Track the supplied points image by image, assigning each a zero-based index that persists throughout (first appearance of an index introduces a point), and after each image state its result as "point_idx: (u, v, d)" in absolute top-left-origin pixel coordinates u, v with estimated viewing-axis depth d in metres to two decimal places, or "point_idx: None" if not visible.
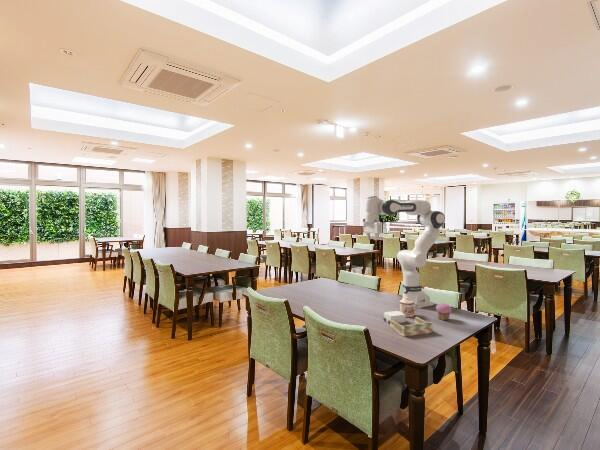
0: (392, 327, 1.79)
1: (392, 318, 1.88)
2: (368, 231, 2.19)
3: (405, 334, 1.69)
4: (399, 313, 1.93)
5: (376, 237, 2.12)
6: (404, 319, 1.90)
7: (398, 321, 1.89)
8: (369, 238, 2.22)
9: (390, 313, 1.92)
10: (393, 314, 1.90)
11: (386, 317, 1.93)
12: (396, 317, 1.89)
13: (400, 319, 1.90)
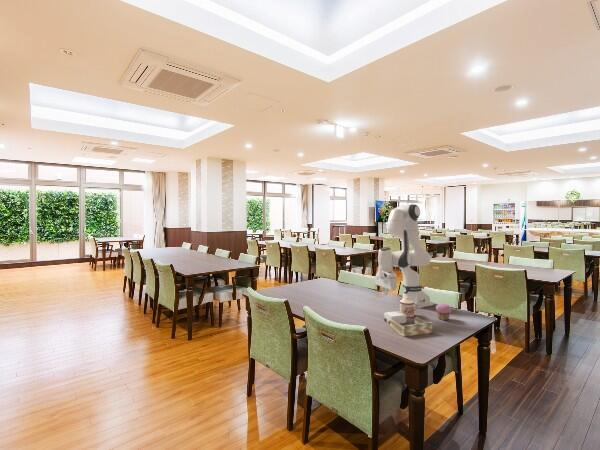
0: (392, 327, 1.79)
1: (393, 318, 1.88)
2: None
3: (405, 334, 1.69)
4: (400, 313, 1.92)
5: None
6: (405, 319, 1.90)
7: (399, 321, 1.89)
8: None
9: (391, 314, 1.92)
10: (393, 315, 1.90)
11: (387, 317, 1.92)
12: (397, 317, 1.88)
13: (401, 319, 1.89)
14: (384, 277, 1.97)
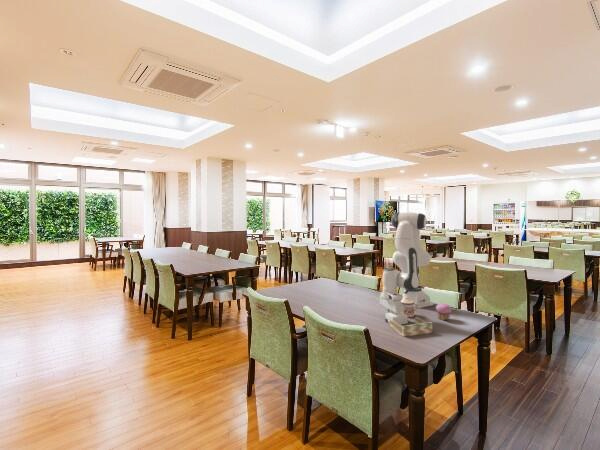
0: (392, 327, 1.79)
1: (394, 319, 1.86)
2: None
3: (405, 334, 1.69)
4: (401, 314, 1.91)
5: None
6: (406, 320, 1.88)
7: (400, 322, 1.87)
8: None
9: (392, 314, 1.91)
10: (395, 315, 1.88)
11: (388, 318, 1.91)
12: (398, 318, 1.87)
13: (402, 319, 1.88)
14: (389, 299, 1.93)
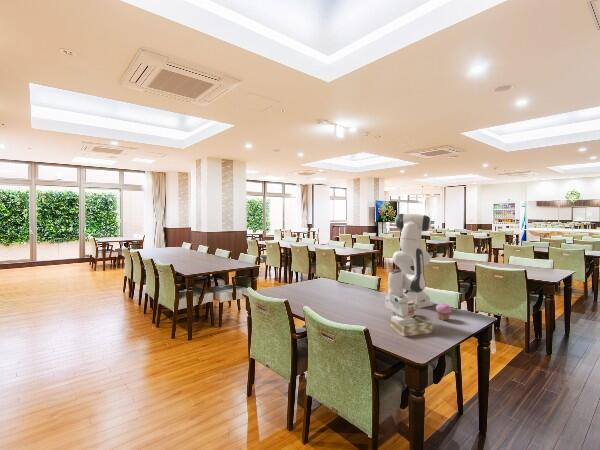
0: (392, 327, 1.79)
1: (400, 322, 1.80)
2: None
3: (405, 334, 1.69)
4: (407, 317, 1.85)
5: None
6: (413, 323, 1.82)
7: None
8: None
9: (398, 317, 1.84)
10: (401, 319, 1.82)
11: None
12: (404, 321, 1.81)
13: (409, 323, 1.82)
14: (395, 302, 1.86)
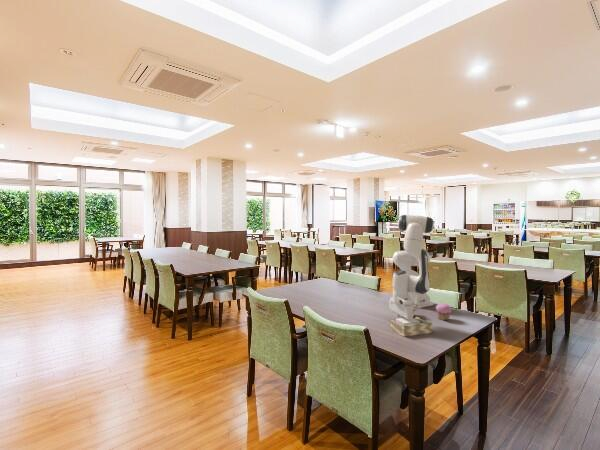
0: (392, 327, 1.79)
1: None
2: None
3: (405, 334, 1.69)
4: (412, 320, 1.80)
5: None
6: None
7: None
8: None
9: (403, 320, 1.80)
10: (406, 321, 1.77)
11: None
12: (409, 324, 1.76)
13: None
14: (399, 304, 1.82)
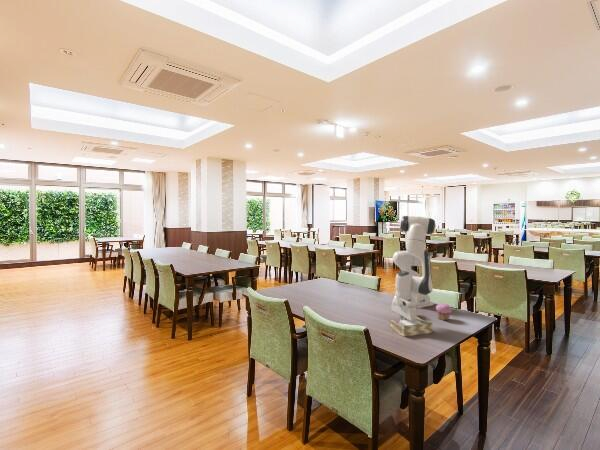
0: (392, 327, 1.79)
1: None
2: None
3: (405, 334, 1.69)
4: (416, 321, 1.77)
5: None
6: None
7: None
8: None
9: (406, 322, 1.77)
10: (409, 323, 1.75)
11: None
12: None
13: None
14: (403, 305, 1.79)
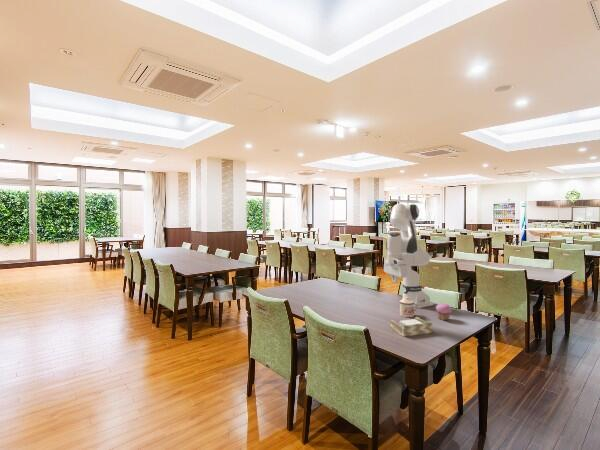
0: (392, 327, 1.79)
1: None
2: None
3: (405, 334, 1.69)
4: (416, 322, 1.77)
5: None
6: None
7: None
8: None
9: (407, 322, 1.76)
10: (410, 323, 1.74)
11: None
12: None
13: None
14: (394, 264, 1.87)
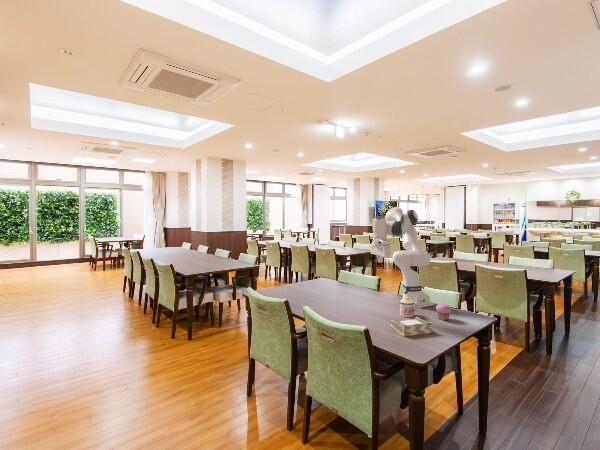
0: (392, 327, 1.79)
1: None
2: None
3: (405, 334, 1.69)
4: (417, 322, 1.76)
5: None
6: None
7: None
8: None
9: (407, 322, 1.76)
10: (410, 324, 1.74)
11: None
12: None
13: None
14: (378, 245, 2.01)
